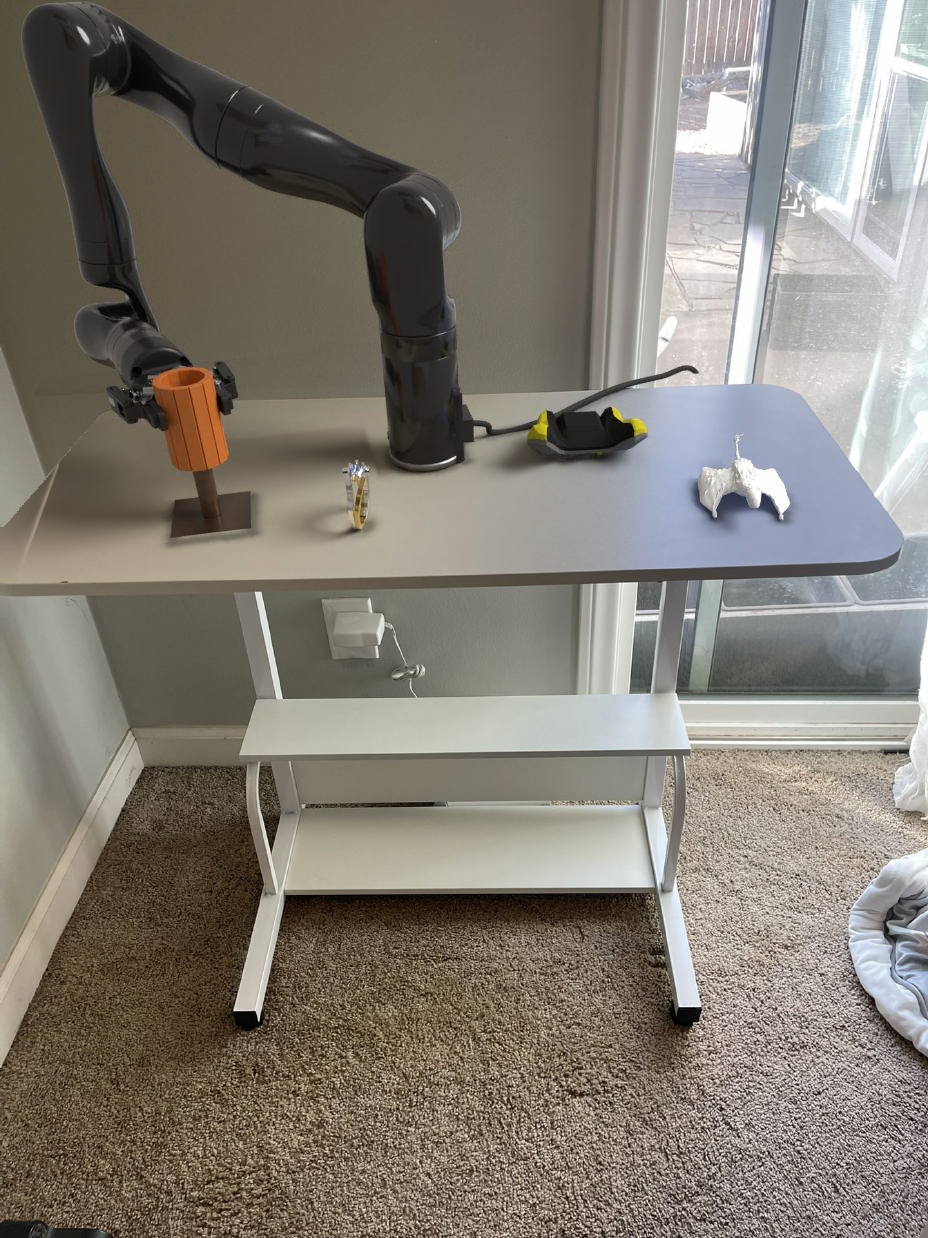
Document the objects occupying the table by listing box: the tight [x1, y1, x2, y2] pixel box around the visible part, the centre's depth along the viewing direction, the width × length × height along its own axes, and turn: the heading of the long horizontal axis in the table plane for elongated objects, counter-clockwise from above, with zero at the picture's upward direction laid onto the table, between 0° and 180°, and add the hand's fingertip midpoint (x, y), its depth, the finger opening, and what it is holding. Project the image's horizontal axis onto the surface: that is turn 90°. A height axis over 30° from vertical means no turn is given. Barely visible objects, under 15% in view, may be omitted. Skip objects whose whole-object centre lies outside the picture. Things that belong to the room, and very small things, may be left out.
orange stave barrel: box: [152, 366, 229, 473], centre depth 101 cm, size 6×6×10 cm
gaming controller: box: [526, 405, 649, 459], centre depth 118 cm, size 15×6×10 cm
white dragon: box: [697, 433, 791, 521], centre depth 108 cm, size 18×10×4 cm, turn 174°
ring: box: [341, 459, 371, 531], centre depth 103 cm, size 7×3×8 cm, turn 171°
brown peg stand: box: [170, 468, 252, 539], centre depth 104 cm, size 9×9×15 cm
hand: (195, 414), depth 98 cm, fingers closed on orange stave barrel, 6 cm apart
